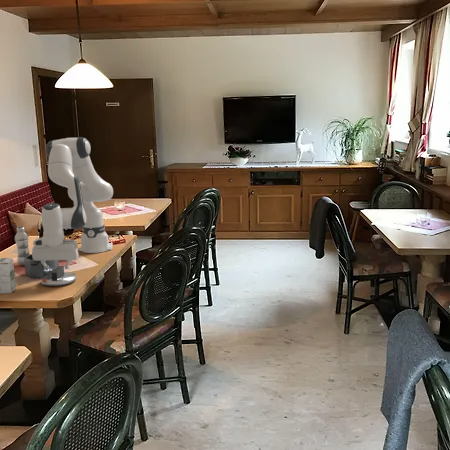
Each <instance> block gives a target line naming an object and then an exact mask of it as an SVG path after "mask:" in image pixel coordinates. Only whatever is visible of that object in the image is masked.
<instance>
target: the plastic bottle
mask: <svg viewBox="0 0 450 450" xmlns="http://www.w3.org/2000/svg"><path fill="white" fill-rule="evenodd" d="M25 230H26V229H25V226H17V227H16V234H15V236H14V242H15V243H16V249H17V264H18V265H19V266H25V263H24V258H25V257H26V256H28V255H30V254H31V253H30V250H29V235H28V233H26V231H25Z"/></svg>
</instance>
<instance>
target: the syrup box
mask: <svg viewBox="0 0 450 450" xmlns="http://www.w3.org/2000/svg"><path fill="white" fill-rule="evenodd" d="M16 289H17V288H16V275H15V265H14V258H13V257H2V258H0V294H12V293H14V291H16Z"/></svg>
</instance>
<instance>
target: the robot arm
mask: <svg viewBox="0 0 450 450" xmlns="http://www.w3.org/2000/svg"><path fill="white" fill-rule="evenodd" d="M91 151H92V150H91V143H90V141H89V140H88V139H87V138H86V137H82V136H79V137H66V138H60V139H53V140H50V141H48V143H47V144H46V145H45V154H46V157H47V158H48V164H47V173H48V174H47V175H48V177H49V179H50V180H51V181H52V182H53V183H55V184H56V185H58V186H61V187H63V188H64V187H65V188H67V194H68V198H70V199H71V200H72V201H73V207H64V208H63V207H62V208H61V206H60V204H59V203H55V202H54V203H46V204H45V205H42V207H41V225H42V228H43V234H42V235H43V236H40V237H38V238H36V239H34V240H33V242H32V245H33V247H32V248H31V254H32V258H33V260H34V261H41V263H42V265H43V266H44V270H48V269H49V265H46V263H45V261H46V260H58V261H66V263H67V264H64V270H69V269H70V264H71V262H72V261H75V260H77V259H78V258H79V257H80V255H79V252H82V253H84V254H85V253H86V254H98V253H99V254H100V253H103V252H106V251H107V252H108V251H112V250H113V245H114V244H113V242H112V241H110V240H109V235H108V234H107V232H106V227H105V226H106V225H105V223H104V217H103V216H104V215H103V214H104V213H103V212H102V210H101V208H98V207H97V206H96V205H95V204H94V203H96V202H98V203H100V202H102V203H103V202H107V201H110V200H111V199H112V198H113V195H114V188H113V186H112V185H111V184H110V183H109V182H107V181H105V180H104V179H103V178H102V177H101V176H100V175H98V172H97V171H96V170H95V168H94V165H93V163H92V160H91V156H90V154H91ZM65 229H71V230H72V229H73V230H81V229H82V234H81V236H80V248H78V241H76V240H75V239H73V238H72V239H71V238H70V239H65V232H64V230H65ZM109 242H111V243H109Z"/></svg>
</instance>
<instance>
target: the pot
mask: <svg viewBox="0 0 450 450" xmlns="http://www.w3.org/2000/svg"><path fill="white" fill-rule="evenodd" d="M24 263H25V265H24V270H25V277H26V278H28V279H31V280H34V279H35V280H36V279H37V280H38V279H40V280H41V278H42V277H44V276H46V275H49V274H51V272H53V271H54V270H55V269H56V268H57V267H58V266H60V264H59V260H46V261H45V263H46V265H49V269H48V270H44V266H43V265H42V263H41V261H34V260H33V258H32V253H30V255H28V256H26V257H25V258H24Z"/></svg>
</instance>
